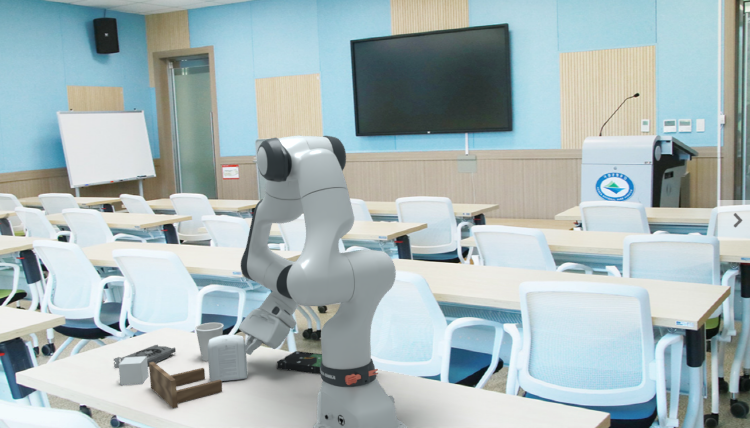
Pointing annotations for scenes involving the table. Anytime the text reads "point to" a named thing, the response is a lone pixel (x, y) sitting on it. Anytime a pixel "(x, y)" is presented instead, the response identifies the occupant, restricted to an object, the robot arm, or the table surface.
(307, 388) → the table surface
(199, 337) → the dixie cup
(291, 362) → the disk drive
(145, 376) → the grey cube
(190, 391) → the dock
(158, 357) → the graphics card
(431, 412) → the table surface
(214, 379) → the photo printer
